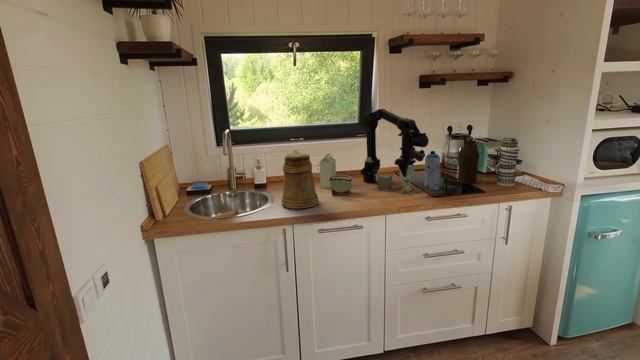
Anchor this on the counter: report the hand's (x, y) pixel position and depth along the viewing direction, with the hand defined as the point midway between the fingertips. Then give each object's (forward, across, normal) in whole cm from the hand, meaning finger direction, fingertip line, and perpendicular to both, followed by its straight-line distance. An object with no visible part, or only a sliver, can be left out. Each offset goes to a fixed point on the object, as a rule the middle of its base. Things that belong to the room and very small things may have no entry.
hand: (406, 175), depth 177 cm
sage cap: (+2, 0, 0) cm, 2 cm away
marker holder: (+10, 0, +6) cm, 11 cm away
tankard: (+10, -36, +42) cm, 56 cm away
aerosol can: (+10, +16, -8) cm, 20 cm away
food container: (+10, -16, +29) cm, 34 cm away
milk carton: (+10, -6, +44) cm, 45 cm away
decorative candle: (+10, +40, -41) cm, 58 cm away
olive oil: (+10, +36, -22) cm, 43 cm away
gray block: (+8, 0, +12) cm, 14 cm away
